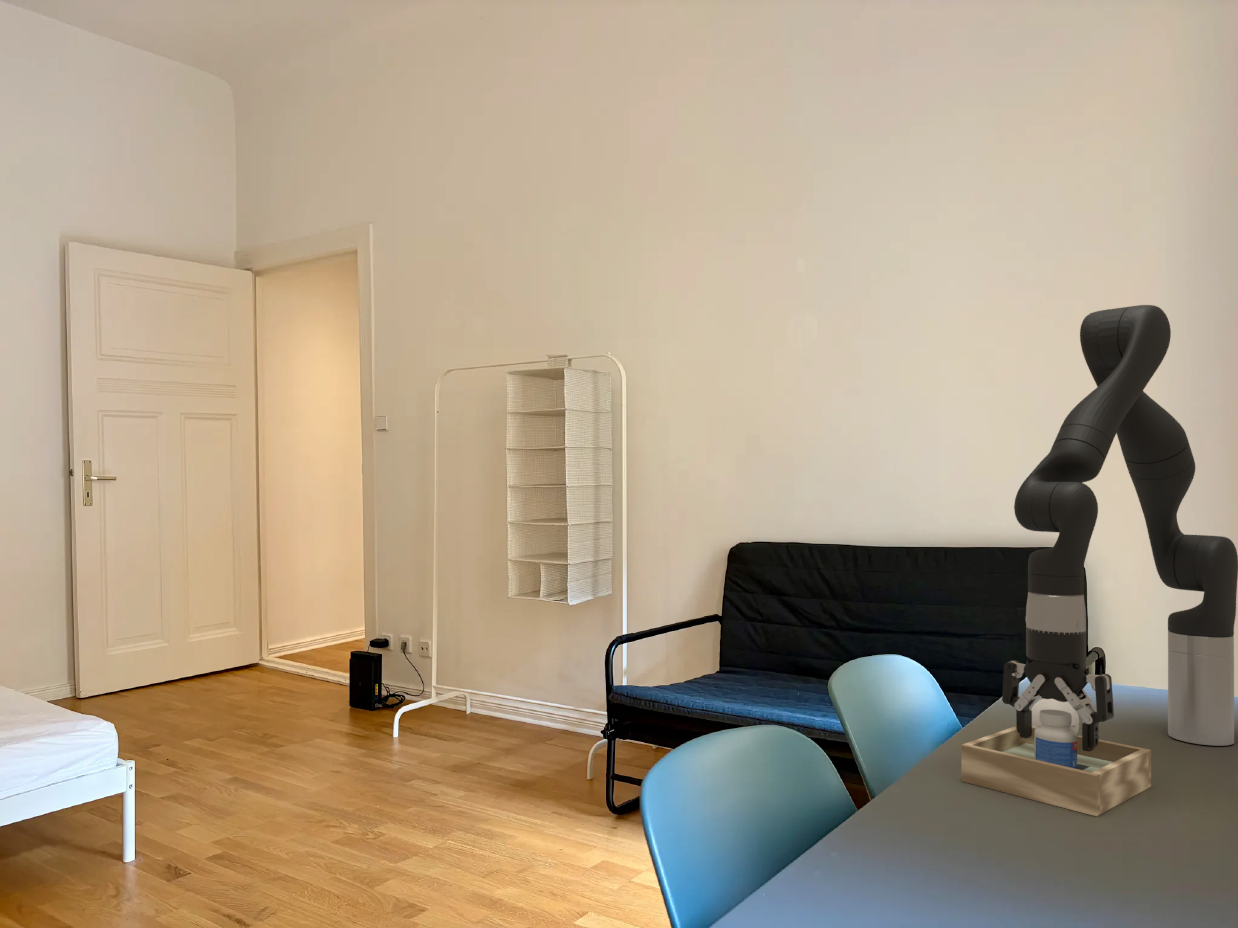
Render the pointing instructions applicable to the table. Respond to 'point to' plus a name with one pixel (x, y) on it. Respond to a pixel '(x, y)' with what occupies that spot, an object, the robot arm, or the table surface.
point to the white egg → (1054, 705)
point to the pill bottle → (1056, 739)
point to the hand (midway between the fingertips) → (1056, 743)
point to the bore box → (1057, 772)
